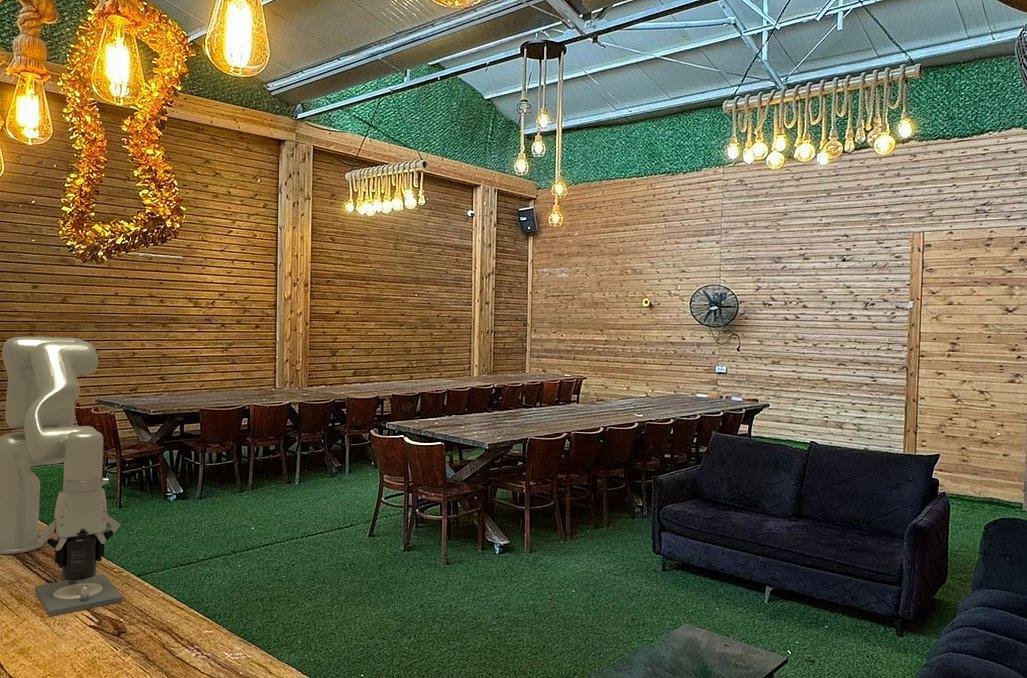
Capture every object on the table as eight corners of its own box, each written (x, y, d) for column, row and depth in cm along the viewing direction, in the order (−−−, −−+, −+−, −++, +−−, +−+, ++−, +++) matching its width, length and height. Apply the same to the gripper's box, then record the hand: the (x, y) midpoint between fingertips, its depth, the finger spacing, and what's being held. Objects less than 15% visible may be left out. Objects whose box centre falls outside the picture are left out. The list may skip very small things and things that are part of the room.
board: (35, 590, 163) (35, 572, 163) (103, 578, 172) (104, 561, 172) (48, 616, 150) (49, 597, 150) (122, 602, 159) (122, 583, 159)
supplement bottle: (103, 572, 164) (105, 521, 164) (82, 582, 157) (84, 529, 157) (75, 570, 165) (77, 519, 164) (53, 580, 158) (56, 527, 158)
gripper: (120, 478, 169) (117, 552, 169) (34, 486, 158) (31, 565, 158) (128, 484, 164) (125, 560, 164) (40, 493, 152) (36, 575, 152)
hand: (79, 562), depth 161 cm, fingers closed on supplement bottle, 6 cm apart
